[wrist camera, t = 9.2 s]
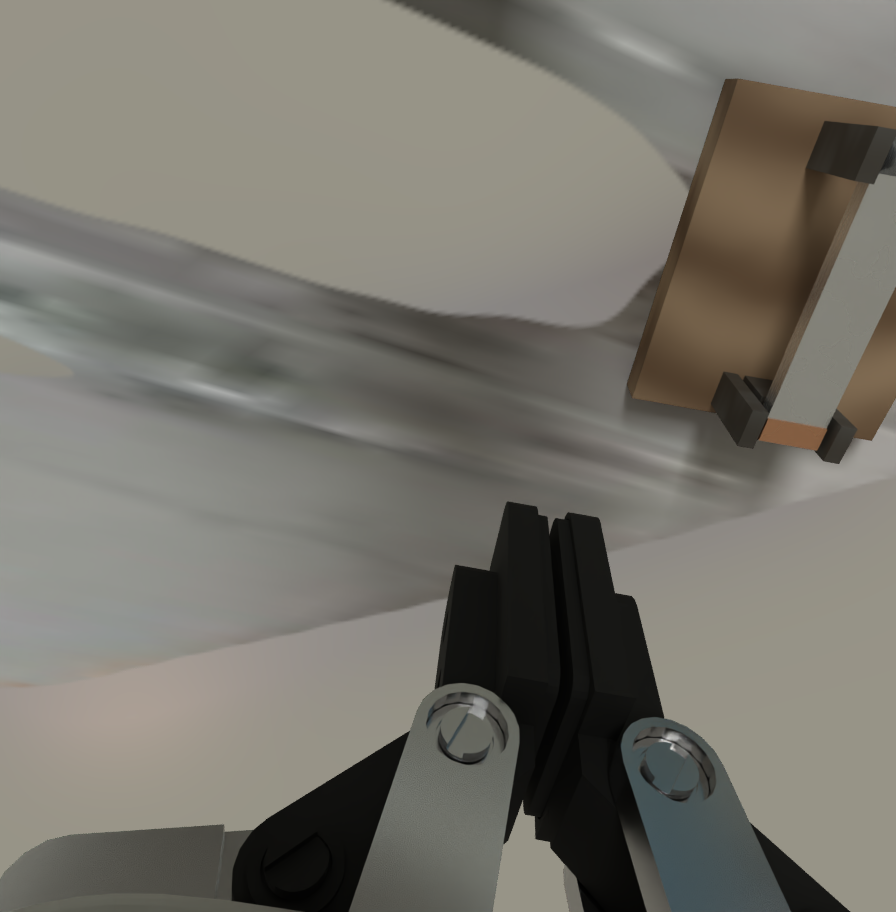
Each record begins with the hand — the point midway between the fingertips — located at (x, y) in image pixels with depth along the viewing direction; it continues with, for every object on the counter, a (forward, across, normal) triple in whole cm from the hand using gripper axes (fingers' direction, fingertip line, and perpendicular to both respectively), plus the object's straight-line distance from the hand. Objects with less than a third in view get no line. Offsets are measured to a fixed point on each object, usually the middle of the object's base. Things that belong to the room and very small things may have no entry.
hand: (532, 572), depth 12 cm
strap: (+22, -15, -1) cm, 27 cm away
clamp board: (+27, -15, -2) cm, 31 cm away
